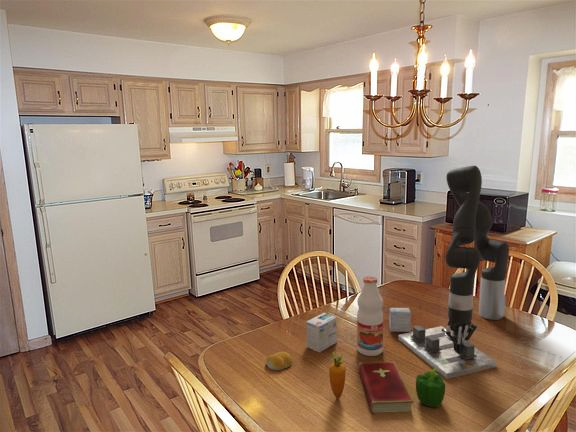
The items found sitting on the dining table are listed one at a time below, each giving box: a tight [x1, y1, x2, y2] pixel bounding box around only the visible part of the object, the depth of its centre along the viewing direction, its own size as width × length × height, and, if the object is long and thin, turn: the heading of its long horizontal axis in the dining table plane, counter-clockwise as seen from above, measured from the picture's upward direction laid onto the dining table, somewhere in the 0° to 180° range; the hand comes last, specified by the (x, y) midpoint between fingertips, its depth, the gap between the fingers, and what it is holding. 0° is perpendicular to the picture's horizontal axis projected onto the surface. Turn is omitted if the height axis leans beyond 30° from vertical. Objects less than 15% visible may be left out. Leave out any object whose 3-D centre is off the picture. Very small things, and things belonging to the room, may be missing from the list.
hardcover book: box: [358, 361, 414, 414], centre depth 127 cm, size 12×21×4 cm, turn 0°
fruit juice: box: [356, 275, 384, 357], centre depth 149 cm, size 9×9×28 cm
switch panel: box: [397, 325, 497, 380], centre depth 148 cm, size 20×28×2 cm
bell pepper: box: [415, 368, 446, 409], centre depth 120 cm, size 8×8×10 cm
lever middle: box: [424, 335, 441, 352], centre depth 146 cm, size 4×4×4 cm
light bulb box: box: [305, 312, 338, 353], centre depth 156 cm, size 11×7×11 cm, turn 134°
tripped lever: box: [459, 340, 476, 359], centre depth 141 cm, size 4×4×4 cm
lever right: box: [411, 325, 426, 342], centre depth 153 cm, size 4×4×4 cm
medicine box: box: [388, 307, 412, 333], centre depth 166 cm, size 8×4×9 cm, turn 84°
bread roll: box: [265, 351, 293, 371], centre depth 144 cm, size 8×9×4 cm
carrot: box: [328, 352, 347, 400], centre depth 123 cm, size 5×5×15 cm
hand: (458, 352), depth 140 cm, fingers closed
